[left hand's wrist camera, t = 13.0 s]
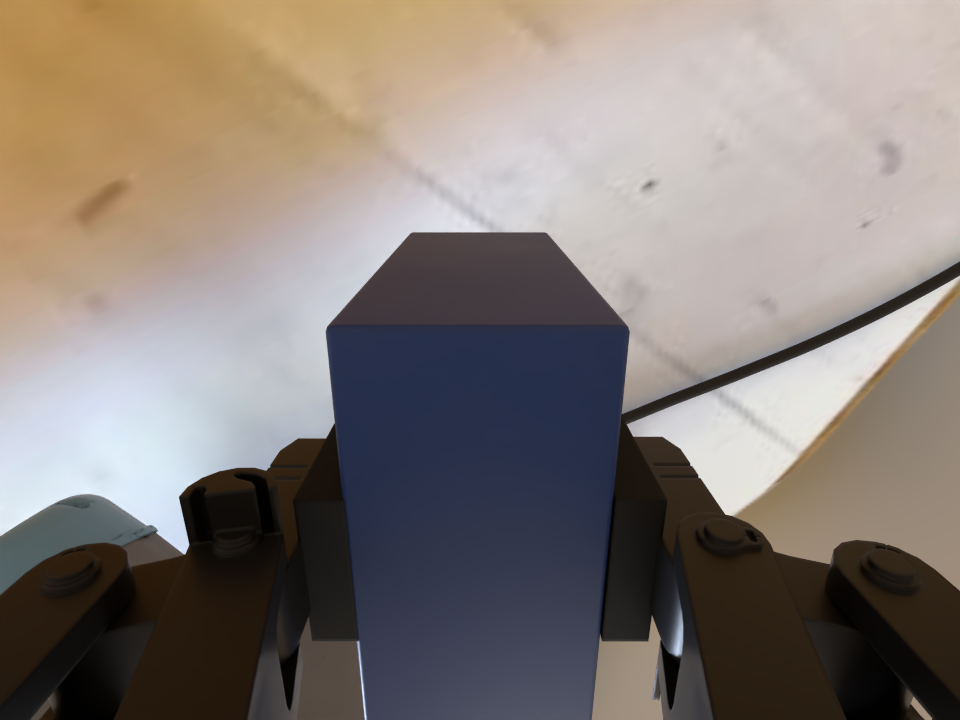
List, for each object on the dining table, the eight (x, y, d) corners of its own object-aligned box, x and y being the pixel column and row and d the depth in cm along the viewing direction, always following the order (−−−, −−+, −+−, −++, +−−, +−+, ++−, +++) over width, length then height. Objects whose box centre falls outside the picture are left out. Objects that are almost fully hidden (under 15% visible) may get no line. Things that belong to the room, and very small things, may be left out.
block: (419, 463, 19) (364, 741, 10) (409, 232, 16) (323, 326, 7) (538, 462, 19) (590, 740, 10) (547, 232, 16) (632, 326, 7)
